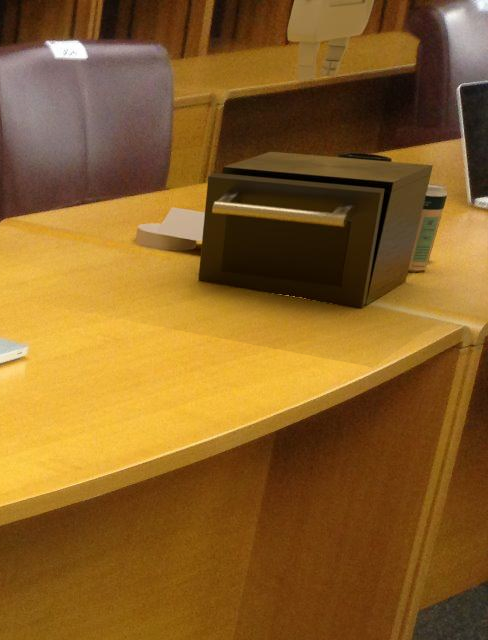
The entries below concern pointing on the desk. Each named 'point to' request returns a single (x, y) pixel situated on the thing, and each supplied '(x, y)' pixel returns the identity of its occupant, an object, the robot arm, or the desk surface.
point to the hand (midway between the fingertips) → (317, 77)
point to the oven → (396, 178)
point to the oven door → (290, 237)
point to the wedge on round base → (173, 231)
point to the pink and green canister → (428, 227)
